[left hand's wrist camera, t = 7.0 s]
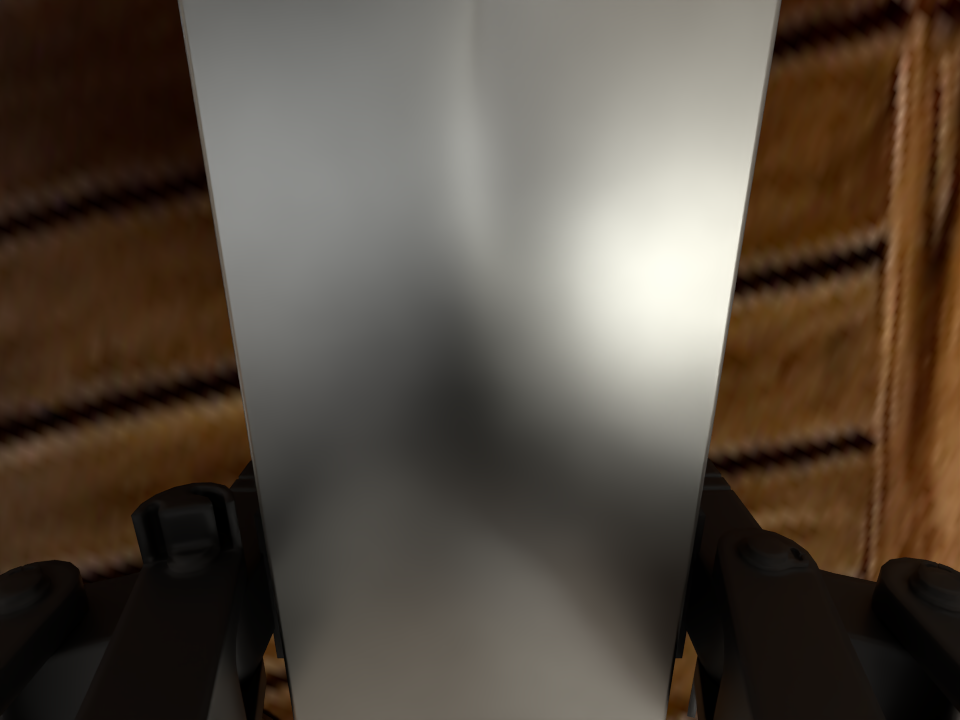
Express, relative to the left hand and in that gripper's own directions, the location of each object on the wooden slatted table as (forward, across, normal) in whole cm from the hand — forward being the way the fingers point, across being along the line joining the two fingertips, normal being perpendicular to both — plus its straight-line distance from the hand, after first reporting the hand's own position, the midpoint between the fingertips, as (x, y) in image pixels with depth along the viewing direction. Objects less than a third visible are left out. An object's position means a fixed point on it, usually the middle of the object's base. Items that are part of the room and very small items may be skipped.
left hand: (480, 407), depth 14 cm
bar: (+1, 0, -8) cm, 8 cm away
